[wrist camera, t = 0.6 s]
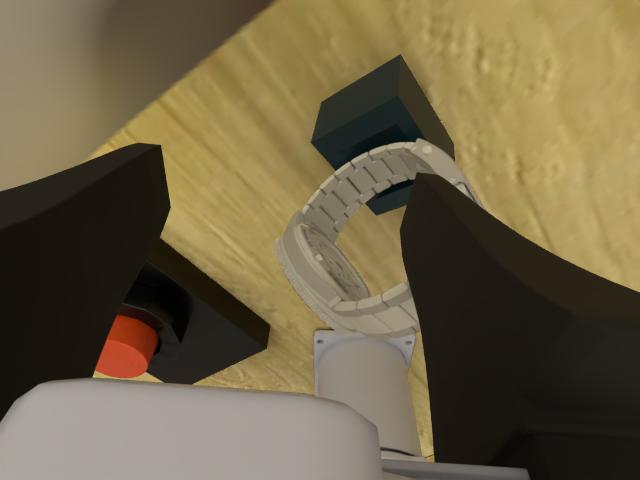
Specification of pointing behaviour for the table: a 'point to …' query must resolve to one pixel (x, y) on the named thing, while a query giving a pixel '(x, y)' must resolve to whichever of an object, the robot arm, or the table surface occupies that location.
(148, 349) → the button
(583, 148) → the table surface
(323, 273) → the watch
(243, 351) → the box
